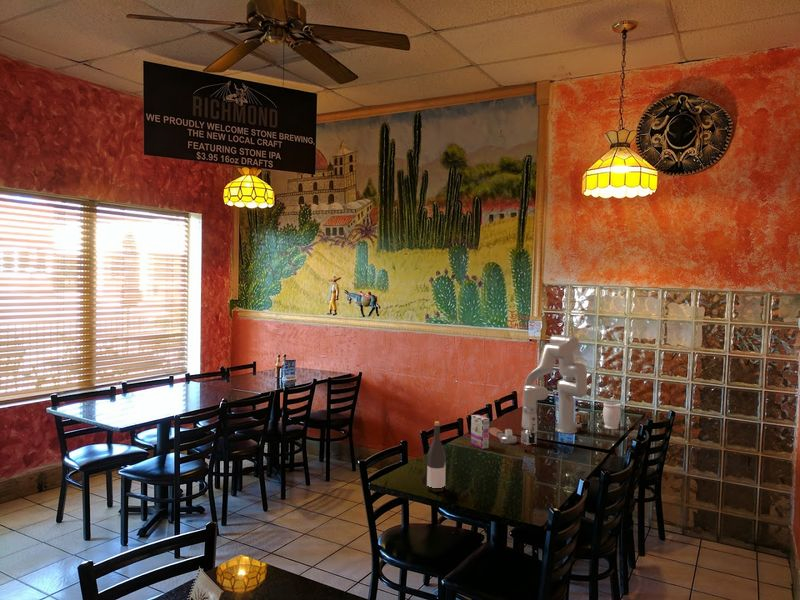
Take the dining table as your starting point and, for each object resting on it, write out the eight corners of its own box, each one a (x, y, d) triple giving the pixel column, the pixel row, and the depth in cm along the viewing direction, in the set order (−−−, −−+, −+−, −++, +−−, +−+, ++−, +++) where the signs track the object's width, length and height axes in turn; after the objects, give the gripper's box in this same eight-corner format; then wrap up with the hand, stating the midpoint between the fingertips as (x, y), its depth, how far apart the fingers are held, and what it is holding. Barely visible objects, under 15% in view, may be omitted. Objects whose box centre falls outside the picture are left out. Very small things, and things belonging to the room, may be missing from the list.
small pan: (498, 431, 355) (498, 419, 355) (519, 443, 330) (519, 431, 330) (484, 432, 352) (484, 420, 352) (504, 444, 328) (505, 432, 327)
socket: (530, 441, 335) (531, 428, 335) (536, 444, 329) (536, 431, 329) (521, 442, 333) (521, 429, 333) (526, 445, 328) (526, 432, 327)
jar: (621, 430, 361) (622, 406, 360) (604, 429, 363) (604, 405, 362) (618, 425, 371) (619, 402, 371) (601, 425, 373) (601, 401, 372)
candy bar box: (489, 448, 321) (490, 418, 320) (481, 449, 319) (482, 419, 318) (477, 443, 331) (478, 414, 330) (470, 444, 329) (470, 414, 328)
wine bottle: (425, 486, 263) (426, 419, 262) (443, 486, 264) (444, 419, 263) (427, 493, 255) (428, 424, 254) (446, 492, 256) (447, 424, 254)
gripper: (543, 413, 323) (542, 445, 324) (527, 406, 340) (526, 436, 341) (531, 413, 321) (530, 446, 322) (515, 406, 338) (515, 437, 339)
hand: (528, 441), depth 331 cm, fingers closed on socket, 6 cm apart
